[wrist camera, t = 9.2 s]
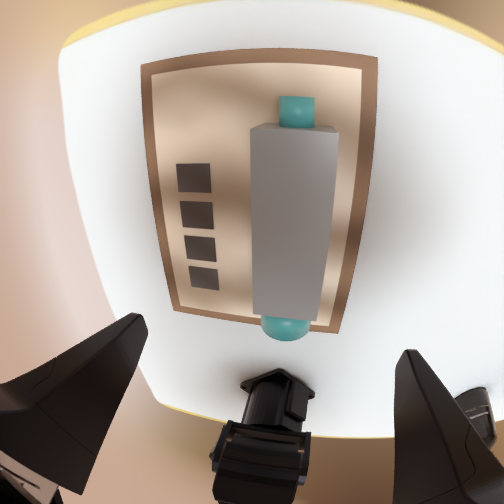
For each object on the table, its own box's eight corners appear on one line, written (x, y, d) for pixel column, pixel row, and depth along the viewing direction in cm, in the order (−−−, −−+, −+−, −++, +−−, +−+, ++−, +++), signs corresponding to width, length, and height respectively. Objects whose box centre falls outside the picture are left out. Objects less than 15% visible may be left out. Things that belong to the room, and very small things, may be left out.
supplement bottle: (481, 381, 24) (498, 456, 14) (490, 394, 25) (504, 459, 15) (440, 405, 27) (448, 479, 17) (453, 415, 28) (461, 480, 18)
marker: (314, 307, 21) (311, 346, 18) (263, 302, 22) (253, 339, 19) (333, 100, 14) (340, 99, 10) (264, 96, 14) (249, 95, 11)
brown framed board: (337, 327, 23) (338, 336, 22) (176, 305, 26) (172, 312, 25) (374, 59, 12) (378, 56, 11) (146, 65, 15) (138, 64, 14)
